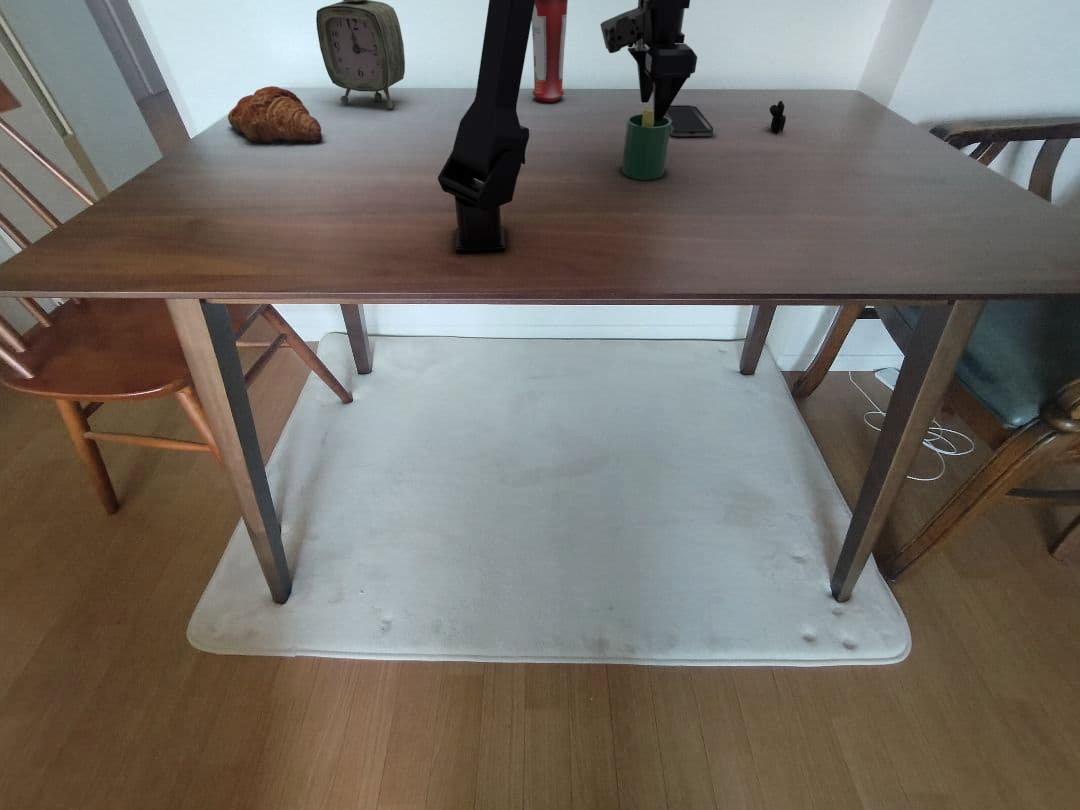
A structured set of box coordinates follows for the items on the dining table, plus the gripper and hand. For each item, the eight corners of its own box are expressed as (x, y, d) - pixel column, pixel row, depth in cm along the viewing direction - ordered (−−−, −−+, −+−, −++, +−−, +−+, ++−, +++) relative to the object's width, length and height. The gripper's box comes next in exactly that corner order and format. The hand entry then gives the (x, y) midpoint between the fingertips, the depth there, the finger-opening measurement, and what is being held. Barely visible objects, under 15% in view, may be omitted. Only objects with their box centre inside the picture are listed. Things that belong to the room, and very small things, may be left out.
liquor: (527, 96, 126) (525, -69, 107) (558, 93, 128) (562, -70, 109) (537, 105, 121) (536, -66, 102) (569, 102, 123) (575, -67, 104)
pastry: (224, 153, 101) (206, 103, 96) (232, 125, 112) (216, 79, 106) (323, 143, 105) (311, 95, 99) (322, 117, 115) (311, 72, 110)
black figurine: (782, 137, 108) (790, 108, 104) (769, 136, 108) (776, 107, 104) (775, 125, 113) (782, 96, 109) (762, 124, 113) (769, 96, 109)
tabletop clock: (333, 106, 121) (299, -45, 103) (355, 94, 127) (327, -50, 110) (395, 113, 118) (371, -42, 100) (415, 100, 124) (395, -47, 107)
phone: (695, 105, 118) (714, 130, 107) (694, 111, 118) (713, 136, 108) (657, 105, 117) (672, 130, 106) (656, 111, 118) (671, 136, 107)
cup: (667, 179, 93) (676, 127, 88) (626, 180, 93) (632, 128, 87) (658, 163, 98) (665, 113, 93) (618, 164, 98) (623, 114, 92)
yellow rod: (648, 170, 94) (656, 111, 88) (637, 170, 94) (645, 111, 88) (646, 166, 96) (653, 107, 90) (635, 166, 96) (642, 107, 89)
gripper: (597, -22, 85) (590, 94, 95) (620, 0, 71) (609, 133, 82) (671, -23, 85) (656, 93, 96) (708, -1, 72) (686, 131, 83)
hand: (650, 111), depth 89 cm, fingers open, 9 cm apart
